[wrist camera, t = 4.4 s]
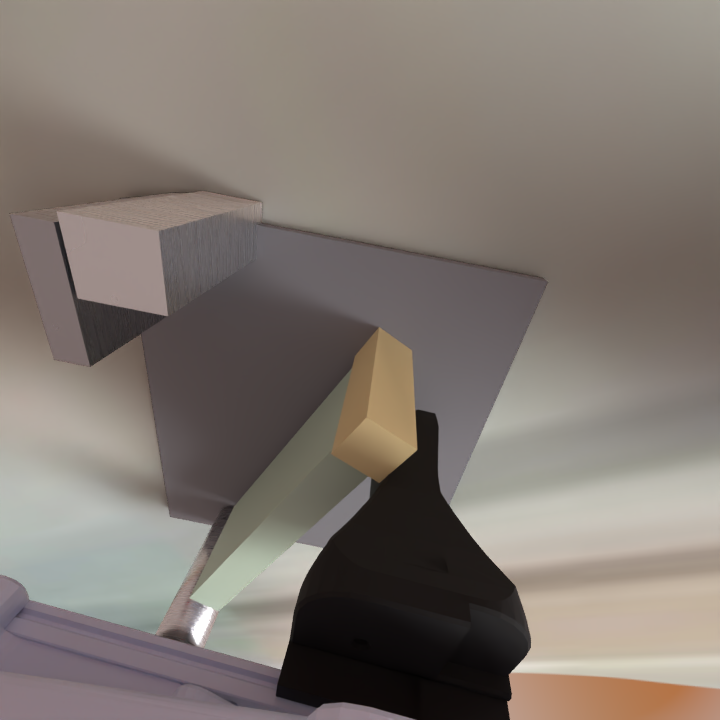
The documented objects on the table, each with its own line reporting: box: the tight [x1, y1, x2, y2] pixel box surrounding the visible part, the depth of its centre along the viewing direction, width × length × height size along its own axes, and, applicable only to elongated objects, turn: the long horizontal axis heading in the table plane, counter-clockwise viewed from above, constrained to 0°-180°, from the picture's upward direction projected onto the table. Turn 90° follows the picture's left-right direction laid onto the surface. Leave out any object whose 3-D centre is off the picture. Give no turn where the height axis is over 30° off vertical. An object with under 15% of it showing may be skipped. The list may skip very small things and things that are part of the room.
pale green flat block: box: [190, 327, 417, 611], centre depth 12 cm, size 1×11×5 cm, turn 144°
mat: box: [120, 197, 548, 548], centre depth 14 cm, size 13×15×1 cm
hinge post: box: [155, 506, 234, 648], centre depth 15 cm, size 2×2×7 cm
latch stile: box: [9, 191, 262, 367], centre depth 9 cm, size 3×3×5 cm
